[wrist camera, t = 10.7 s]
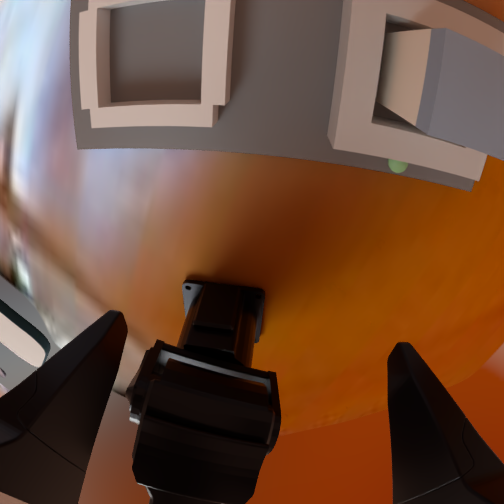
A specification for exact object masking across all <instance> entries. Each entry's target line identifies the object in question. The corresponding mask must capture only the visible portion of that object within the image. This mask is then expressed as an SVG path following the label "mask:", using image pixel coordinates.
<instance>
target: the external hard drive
mask: <svg viewBox="0 0 504 504" xmlns="http://www.w3.org/2000/svg"><path fill="white" fill-rule="evenodd" d="M0 342H1V343H2V344H3V345H5V346H6V347H7V348H8V349H10V350H11V351H12V352H14V353H15V354H16V355H17V356H19V357H20V358H22V359H23V360H24V361H26V362H28V363H29V364H31V365H33V366H35V367H40V366H42V365H43V364H44V363H45V361H46V358H47V356H48V353H49V351H50V343H49V341H48V339H47V338H46V337H45V336H44V335H43V334H42V333H41V332H40V331H39V330H38V329H36V327H34V326H33V325H32V324H31V323H29V322H28V321H27V320H25V319H24V318H23V317H22V316H20V315H19V314H18V313H17V312H15V311H14V310H13V309H11V308H10V307H9V306H8V305H7V304H6V303H4V302H3V301H2V300H1V299H0Z"/></svg>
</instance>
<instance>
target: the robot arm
mask: <svg viewBox="0 0 504 504" xmlns="http://www.w3.org/2000/svg"><path fill="white" fill-rule="evenodd" d="M187 285H188V286H187ZM189 286H190V287H189ZM182 290H183V299H184V307H185V315H186V319H185V322H184V326H183V329H182V332H181V335H180V338H179V341H178V344H177V347H176V346H172V345H169V344H166V343H164V341H161V340H158V339H157V341H156V343H155V345H154V347H151V348H150V350H146V352H145V355H144V358H143V360H142V363H141V365H140V368H139V370H138V371H137V373H136V375H135V376H134V378H133V379H132V381H131V383H130V384H129V386H128V388H127V390H126V397H127V399H128V401H129V403H130V411H131V412H130V422H133V423H136V424H139V426H138V430H137V435H136V440H135V444H134V449H133V453H132V458H133V465H132V470H133V473H134V476H135V479H136V482H137V483H138V484H141V485H144V486H145V487H146V489H147V491H148V494H149V496H150V501H149V504H245V503H246V502H247V501H248V500H249V499H250V498H251V497H252V496H253V494H254V491H255V486H256V483H257V479H258V475H259V471H260V468H261V466H262V463H263V460H264V458H265V456H266V455H268V454H269V453H270V452H271V451H272V449H273V448H274V446H275V444H276V441H277V438H278V435H279V431H280V425H281V409H280V401H279V392H278V384H277V377H276V372H271V371H268V372H266V371H262V370H258V369H254V368H251V365H252V357H253V348H254V343H257V342H259V337H260V330H261V322H262V314H263V307H264V299H265V291H264V290H263V289H260V288H253V287H244V286H235V285H227V284H219V283H211V282H203V281H195V280H185V281H184V282H183V285H182ZM256 294H260V295H256ZM127 333H128V328H127V325H126V322H125V319H124V315H123V313H122V312H120V311H116V310H110V311H108V312H107V313H105V314H104V315H103V316H102V317H100V318H99V319H98V320H97V321H95V322H94V323H93V324H92V325H90V326H89V327H88V328H87V329H85V330H84V331H83V332H82V333H80V334H79V335H78V336H77V337H75V338H74V339H73V340H72V341H71V342H69V343H68V344H67V345H66V346H64V347H63V348H62V349H61V350H60V351H58V352H57V353H56V354H55V355H54V356H52V357H51V358H50V359H49V360H48V361H46V362H45V363H44V364H43V365H42V366H40V367H39V368H38V369H37V371H34V372H33V373H32V374H31V375H30V376H29V377H27V378H26V379H25V380H23V381H22V382H21V383H20V384H19V385H17V386H16V387H14V388H13V389H12V390H10V391H9V392H8V393H6V394H5V395H3V396H2V397H0V504H78V501H79V497H80V493H81V489H82V485H83V481H84V478H85V474H86V470H87V466H88V463H89V459H90V456H91V452H92V449H93V446H94V442H95V438H96V436H97V433H98V429H99V426H100V423H101V420H102V417H103V414H104V411H105V408H106V405H107V402H108V399H109V396H110V393H111V390H112V387H113V385H114V382H115V379H116V376H117V373H118V369H119V365H120V361H121V357H122V353H123V349H124V345H125V341H126V337H127ZM387 368H388V411H389V423H390V436H391V452H392V474H393V475H392V477H393V504H504V464H503V463H502V461H501V460H500V459H499V458H498V457H497V456H496V454H495V453H494V452H493V451H492V450H491V449H490V447H489V446H488V445H487V444H486V442H485V441H484V440H483V439H482V438H481V436H480V435H479V434H478V432H477V431H476V430H475V429H474V427H473V426H472V424H471V423H470V422H469V420H468V419H467V418H466V416H465V415H464V413H463V412H462V410H461V409H460V408H459V406H458V405H457V404H456V402H455V401H454V400H453V398H452V397H451V396H450V394H449V393H448V392H447V390H446V389H445V387H444V386H443V385H442V383H441V382H440V381H439V380H438V378H437V377H436V376H435V374H434V373H433V372H432V370H431V369H430V368H429V367H428V365H427V364H426V363H425V361H424V360H423V359H422V358H421V356H420V355H419V354H418V353H417V351H416V350H415V349H414V347H413V346H412V345H411V344H410V343H408V342H398V343H397V344H396V345H395V347H394V349H393V350H392V352H391V354H390V355H389V357H388V362H387Z"/></svg>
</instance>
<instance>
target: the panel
mask: <svg viewBox="0 0 504 504" xmlns="http://www.w3.org/2000/svg"><path fill="white" fill-rule="evenodd" d="M436 28H447V29H450V30H452V31H454V32H457V33H459V34H461V35H463V36H466V37H468V38H470V39H472V40H474V41H476V42H478V43H480V44H482V45H484V46H486V47H488V48H490V49H492V50H494V51H496V52H497V53H499V54H501V55H503V56H504V22H503V21H501V20H499V19H498V18H496V17H494V16H492V15H490V14H489V13H487V12H485V11H483V10H481V9H479V8H477V7H475V6H473V5H471V4H469V3H467V2H465V1H463V0H71V10H70V76H71V93H72V106H73V116H74V126H75V134H76V142H77V149H107V148H155V149H188V150H208V151H223V152H237V153H249V154H260V155H270V156H279V157H288V158H297V159H305V160H312V161H320V162H327V163H333V164H340V165H346V166H353V167H359V168H364V169H370V170H376V171H381V172H386V173H391V174H397V175H401V176H406V177H411V178H416V179H420V180H425V181H429V182H434V183H438V184H442V185H446V186H450V187H454V188H458V189H462V190H466V191H470V192H471V190H472V187H473V184H474V181H475V180H476V181H479V180H480V177H481V174H482V171H483V167H484V164H485V161H486V158H487V154H485V153H482V152H479V151H477V150H474V149H471V148H468V147H465V146H462V145H459V144H456V143H453V142H450V141H446V140H443V139H440V138H436V137H433V136H429V135H427V134H426V133H424V132H423V131H421V130H420V129H418V128H417V127H416V126H414V125H413V124H411V123H410V122H408V121H407V120H405V119H404V118H402V117H401V116H399V115H397V114H396V113H394V112H393V111H391V110H390V109H388V108H386V107H385V106H383V105H381V104H380V103H378V102H376V96H377V90H378V84H379V77H380V71H381V64H382V56H383V49H384V41H385V33H393V32H401V31H410V30H421V29H436Z"/></svg>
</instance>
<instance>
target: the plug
mask: <svg viewBox="0 0 504 504" xmlns="http://www.w3.org/2000/svg"><path fill="white" fill-rule="evenodd" d="M376 102H378V103H380V104H381V105H383V106H385V107H386V108H388V109H390V110H391V111H393V112H394V113H396V114H397V115H399V116H401V117H402V118H404V119H405V120H407V121H408V122H410V123H411V124H413V125H414V126H416V127H417V128H418V129H420V130H421V131H423V132H424V133H426V134H427V135H429V136H433V137H436V138H440V139H443V140H446V141H450V142H453V143H456V144H459V145H462V146H465V147H468V148H471V149H474V150H477V151H479V152H482V153H485V154H488V155H490V156H493V157H496V158H498V159H501V160H503V161H504V56H503V55H501V54H499V53H497V52H496V51H494V50H492V49H490V48H488V47H486V46H484V45H482V44H480V43H478V42H476V41H474V40H472V39H470V38H468V37H466V36H463V35H461V34H459V33H457V32H454V31H452V30H450V29H447V28H436V29H421V30H410V31H401V32H393V33H385V41H384V49H383V56H382V64H381V71H380V77H379V84H378V90H377V96H376Z"/></svg>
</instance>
